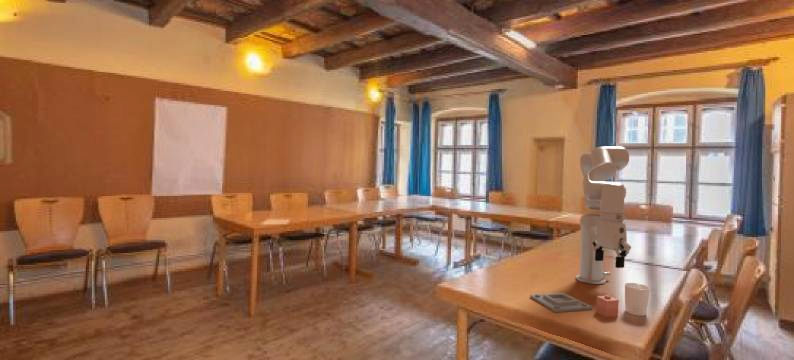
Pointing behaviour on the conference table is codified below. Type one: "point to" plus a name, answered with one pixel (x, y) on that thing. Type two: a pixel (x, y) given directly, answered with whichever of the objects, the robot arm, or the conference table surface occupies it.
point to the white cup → (636, 298)
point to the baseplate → (560, 302)
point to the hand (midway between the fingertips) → (609, 264)
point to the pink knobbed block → (607, 306)
